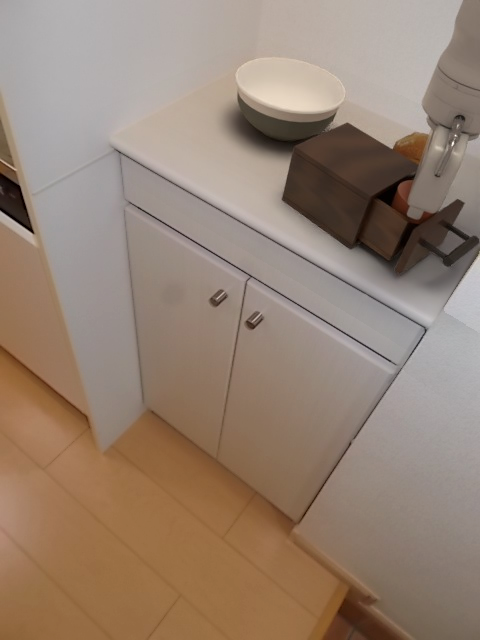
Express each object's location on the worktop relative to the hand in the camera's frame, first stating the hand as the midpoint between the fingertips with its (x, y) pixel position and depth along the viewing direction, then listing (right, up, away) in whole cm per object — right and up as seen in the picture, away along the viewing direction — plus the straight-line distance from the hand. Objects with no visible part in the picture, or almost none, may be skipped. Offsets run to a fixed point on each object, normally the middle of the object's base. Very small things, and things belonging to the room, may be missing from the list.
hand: (418, 199), depth 69 cm
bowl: (-16, +18, +24) cm, 34 cm away
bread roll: (+6, +9, +20) cm, 23 cm away
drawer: (-1, -5, +6) cm, 7 cm away
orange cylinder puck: (0, -1, +1) cm, 2 cm away
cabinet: (-8, +1, +11) cm, 13 cm away
